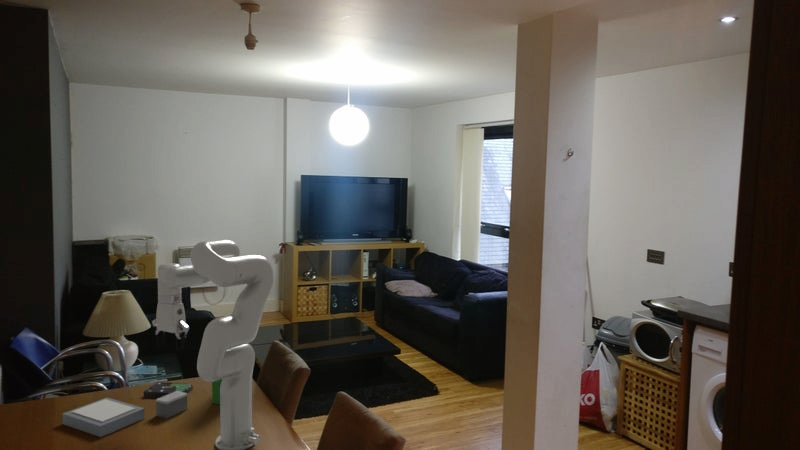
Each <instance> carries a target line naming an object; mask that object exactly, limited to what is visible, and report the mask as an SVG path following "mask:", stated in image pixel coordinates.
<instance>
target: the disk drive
mask: <svg viewBox="0 0 800 450" xmlns="http://www.w3.org/2000/svg"><path fill="white" fill-rule="evenodd" d="M192 389H193V390H194V385H193V384H192V383H187V382H167V381H166V382H165V381H164V382H163V381H158V382H156V383H154V384H152V385H151V386H150V387H149V388H148V389H145V390H143V394H142V395H143V398H156V399H158V398H160V397H163V396H165V395H168V394H170V393H173V392H175V391H180V392H184V393H187V394H189V393H190V392H191V391H192ZM188 392H189V393H188Z"/></svg>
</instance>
